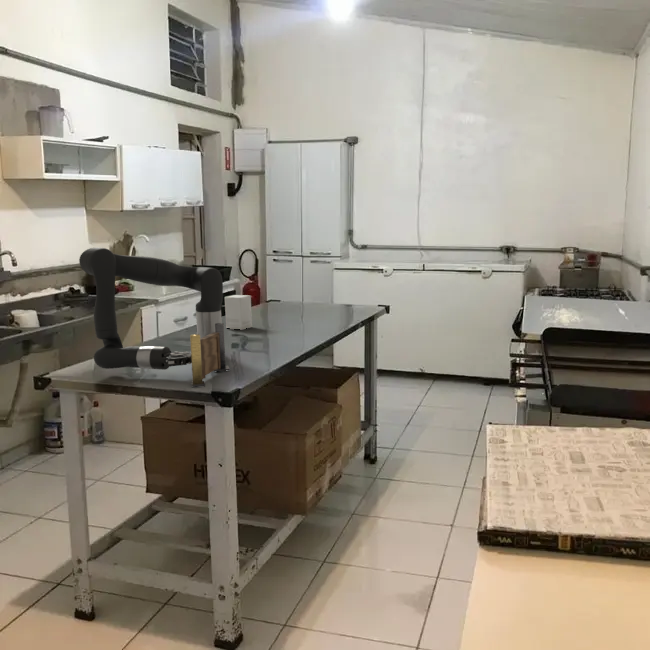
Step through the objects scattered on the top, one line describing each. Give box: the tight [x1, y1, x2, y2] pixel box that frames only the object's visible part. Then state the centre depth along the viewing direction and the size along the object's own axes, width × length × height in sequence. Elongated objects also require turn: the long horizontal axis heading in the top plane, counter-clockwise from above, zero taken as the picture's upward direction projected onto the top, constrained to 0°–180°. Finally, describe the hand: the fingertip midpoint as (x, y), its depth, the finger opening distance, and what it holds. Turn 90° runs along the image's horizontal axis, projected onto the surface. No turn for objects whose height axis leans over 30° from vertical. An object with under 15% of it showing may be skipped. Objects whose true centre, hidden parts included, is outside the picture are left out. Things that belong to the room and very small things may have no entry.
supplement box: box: [223, 294, 253, 331], centre depth 319 cm, size 9×9×15 cm
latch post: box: [189, 333, 206, 387], centre depth 216 cm, size 4×4×16 cm
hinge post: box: [213, 322, 231, 372], centre depth 236 cm, size 5×5×16 cm
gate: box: [200, 332, 221, 380], centre depth 226 cm, size 17×2×13 cm, turn 165°
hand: (202, 359), depth 224 cm, fingers closed
